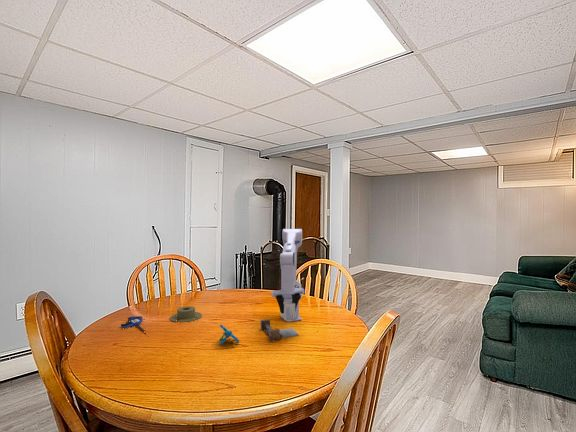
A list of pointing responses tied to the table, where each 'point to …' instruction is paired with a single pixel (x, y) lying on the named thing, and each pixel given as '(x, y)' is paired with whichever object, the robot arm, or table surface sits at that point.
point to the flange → (186, 314)
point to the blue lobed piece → (227, 335)
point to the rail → (270, 330)
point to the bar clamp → (133, 322)
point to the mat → (288, 332)
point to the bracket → (292, 309)
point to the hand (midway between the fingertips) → (287, 311)
